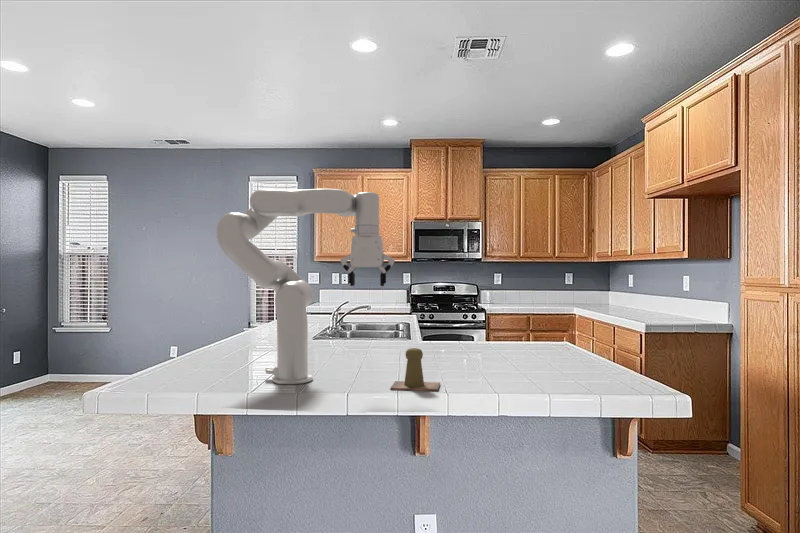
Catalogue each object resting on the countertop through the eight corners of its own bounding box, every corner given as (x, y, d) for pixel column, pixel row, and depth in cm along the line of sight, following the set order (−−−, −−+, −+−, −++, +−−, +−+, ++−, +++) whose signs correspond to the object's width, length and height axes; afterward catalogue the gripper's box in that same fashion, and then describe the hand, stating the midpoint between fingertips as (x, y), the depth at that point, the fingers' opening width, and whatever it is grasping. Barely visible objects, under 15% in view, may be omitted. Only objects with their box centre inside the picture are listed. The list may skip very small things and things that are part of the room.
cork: (424, 383, 162) (424, 347, 162) (423, 387, 156) (423, 350, 156) (405, 382, 163) (404, 346, 163) (403, 387, 157) (403, 350, 157)
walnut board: (390, 389, 156) (390, 387, 156) (395, 383, 165) (395, 381, 165) (437, 391, 154) (437, 389, 154) (440, 384, 163) (440, 382, 163)
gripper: (337, 231, 165) (337, 286, 165) (392, 230, 162) (392, 286, 162) (343, 232, 172) (343, 285, 172) (396, 232, 170) (396, 285, 170)
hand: (367, 285), depth 167 cm, fingers open, 9 cm apart
